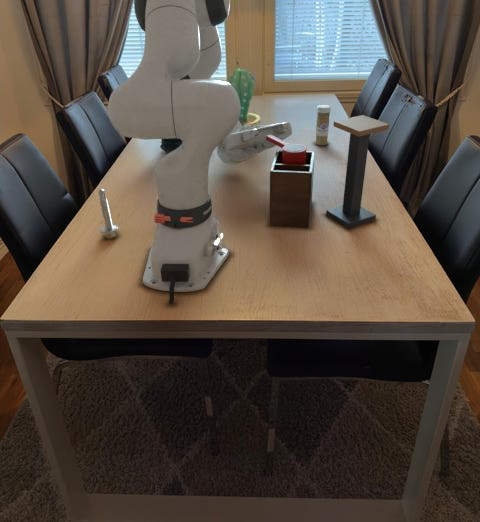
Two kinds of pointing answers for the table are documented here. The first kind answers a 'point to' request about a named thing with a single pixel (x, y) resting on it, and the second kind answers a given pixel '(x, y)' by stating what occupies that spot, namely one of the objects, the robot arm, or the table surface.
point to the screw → (107, 218)
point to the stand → (355, 170)
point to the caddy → (291, 192)
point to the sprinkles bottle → (322, 124)
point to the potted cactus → (244, 94)
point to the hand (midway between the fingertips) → (270, 129)
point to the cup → (290, 151)
